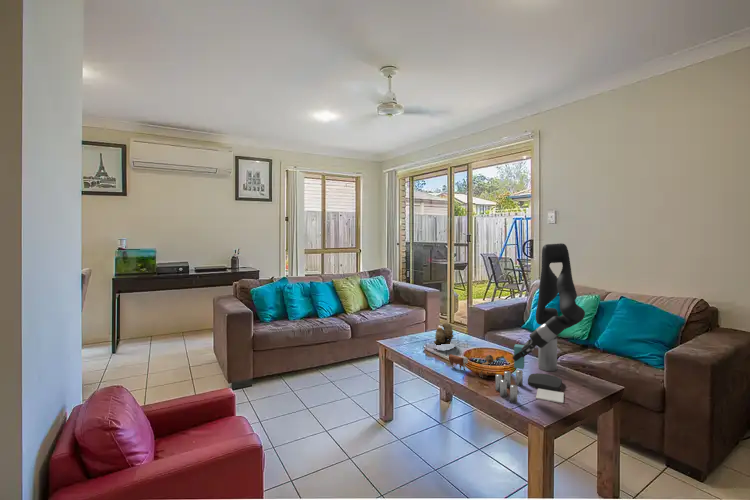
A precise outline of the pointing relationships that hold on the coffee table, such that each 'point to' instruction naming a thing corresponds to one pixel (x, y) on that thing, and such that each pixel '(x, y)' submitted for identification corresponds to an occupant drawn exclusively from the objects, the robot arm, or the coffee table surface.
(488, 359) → the lion figurine
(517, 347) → the teal block
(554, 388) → the media streaming box
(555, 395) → the tile
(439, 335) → the brown squirrel figurine
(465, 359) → the bull figurine
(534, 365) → the coffee table surface
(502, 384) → the posts
